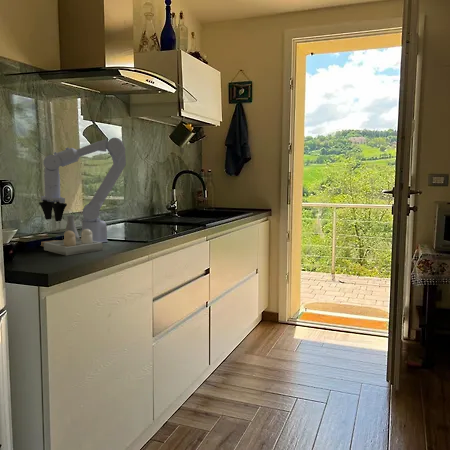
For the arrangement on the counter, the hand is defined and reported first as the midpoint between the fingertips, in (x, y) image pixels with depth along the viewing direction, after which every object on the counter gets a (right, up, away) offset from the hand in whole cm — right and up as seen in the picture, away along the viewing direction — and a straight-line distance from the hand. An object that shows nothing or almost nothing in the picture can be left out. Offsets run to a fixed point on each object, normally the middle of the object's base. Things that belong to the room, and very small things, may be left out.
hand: (53, 220), depth 181 cm
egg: (+13, -11, -17) cm, 24 cm away
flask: (+2, -8, +15) cm, 17 cm away
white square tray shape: (+12, -11, -12) cm, 20 cm away
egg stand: (+2, -10, -4) cm, 11 cm away
